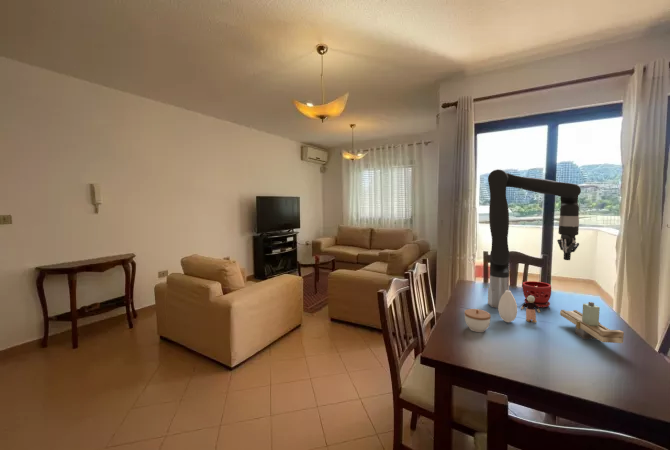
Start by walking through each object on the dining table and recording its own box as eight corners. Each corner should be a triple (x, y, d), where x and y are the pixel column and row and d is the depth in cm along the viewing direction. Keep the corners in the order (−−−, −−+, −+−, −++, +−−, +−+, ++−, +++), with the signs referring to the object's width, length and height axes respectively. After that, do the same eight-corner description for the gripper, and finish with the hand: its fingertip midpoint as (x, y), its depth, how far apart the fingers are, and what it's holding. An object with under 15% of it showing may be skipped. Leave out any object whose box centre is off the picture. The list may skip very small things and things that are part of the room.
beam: (599, 351, 109) (601, 331, 108) (558, 322, 134) (559, 305, 134) (624, 353, 108) (625, 332, 107) (577, 323, 133) (578, 306, 132)
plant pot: (549, 302, 160) (550, 282, 159) (551, 310, 149) (552, 288, 148) (521, 298, 167) (522, 279, 166) (522, 306, 156) (522, 285, 155)
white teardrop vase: (518, 326, 132) (520, 288, 131) (500, 324, 135) (501, 287, 133) (514, 319, 140) (515, 283, 138) (496, 317, 142) (497, 282, 141)
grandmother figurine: (538, 320, 138) (539, 295, 136) (540, 323, 134) (541, 297, 133) (519, 318, 141) (520, 293, 140) (521, 321, 137) (522, 295, 136)
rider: (588, 325, 118) (589, 304, 117) (582, 321, 122) (583, 300, 121) (598, 325, 117) (599, 304, 116) (591, 321, 121) (592, 301, 120)
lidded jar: (466, 322, 138) (467, 303, 137) (491, 327, 131) (492, 308, 131) (462, 330, 129) (462, 311, 128) (488, 337, 123) (489, 316, 122)
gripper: (551, 223, 144) (550, 257, 146) (568, 226, 131) (567, 262, 133) (568, 223, 143) (566, 257, 145) (587, 226, 130) (585, 263, 132)
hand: (566, 259), depth 139 cm, fingers closed
